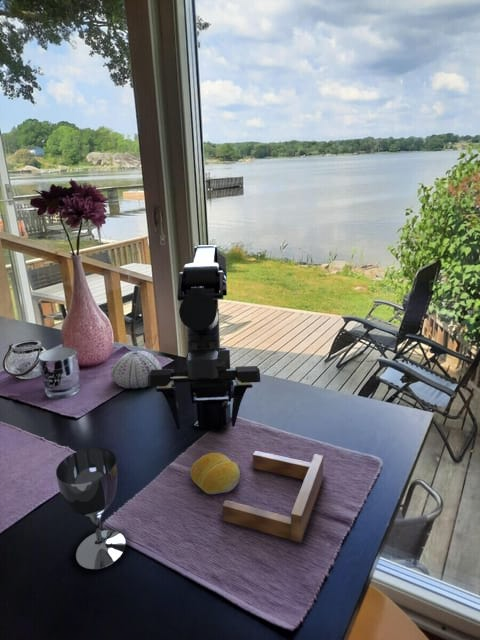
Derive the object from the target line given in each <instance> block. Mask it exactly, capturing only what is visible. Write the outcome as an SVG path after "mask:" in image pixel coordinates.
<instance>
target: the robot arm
mask: <svg viewBox="0 0 480 640" xmlns="http://www.w3.org/2000/svg"><path fill="white" fill-rule="evenodd" d="M193 249H194V250H193V255H191V257H190V258H189V263H186V264H184V265H183V267H182V271H181V272H179V274H178V284H177V285H178V286H177V296H176V297H177V298H176V299H177V301H178V302H181V303H180V306H179V309H178V314H179V318H180V321H181V323H183V325H184V326H185V327H186V356H185V371H183V372H182V371H181V372H180V371H179V372H175V369H174V368H173V369H172V368H167V369H166V368H165V369H164V368H162V370H151V371H150V372H149V373H148V386H147V387H148V388H150V387H151V388H153V387H154V388H155V387H156V388H155V393H162V395H163V396H164V398H165V400H166V403H167V404H168V407H169V408H170V411H171V414H172V417H173V420H174V424H175V426H176V429H177V430H181V414H180V405H179V399H178V398H179V397H178V389H177V387H176V386H174V385H175V383H176V384H177V383H189V392H190V398H191V404H196V405H195V406H196V418H197V420H196V421H195V423H194V424H193V426H194V427H195V428H198V429H203V430H207V431H213V432H218V433H221V432H222V431H223V430H224V429H225V427H226V426H227V425H228V424H229V423H230V421H231V427H232V428H233V427H236V422H237V419H238V414H239V411H240V407H241V403H242V401H243V398H244V396H245V393H246V391H247V389H252V388H253V387H254V384H253V383H261V370H260V368H259V367H258V366H257V365H244V366H243V365H242V366H241V365H240V366H235V369H232V370H231V349H230V347H221V335H220V334H221V333H220V331H221V329H220V309H219V300H222V301H223V300H224V297H225V296H228V285H227V284H228V283H227V281H228V271H227V257H226V256H224V255H223V254H222V253H221V252H220V251H218V245H215V244H210V245H209V244H208V245H207V244H206V245H196V246H194V247H193ZM234 382H235V383H236V384H235V383H234ZM231 402H232V407H231Z"/></svg>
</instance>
